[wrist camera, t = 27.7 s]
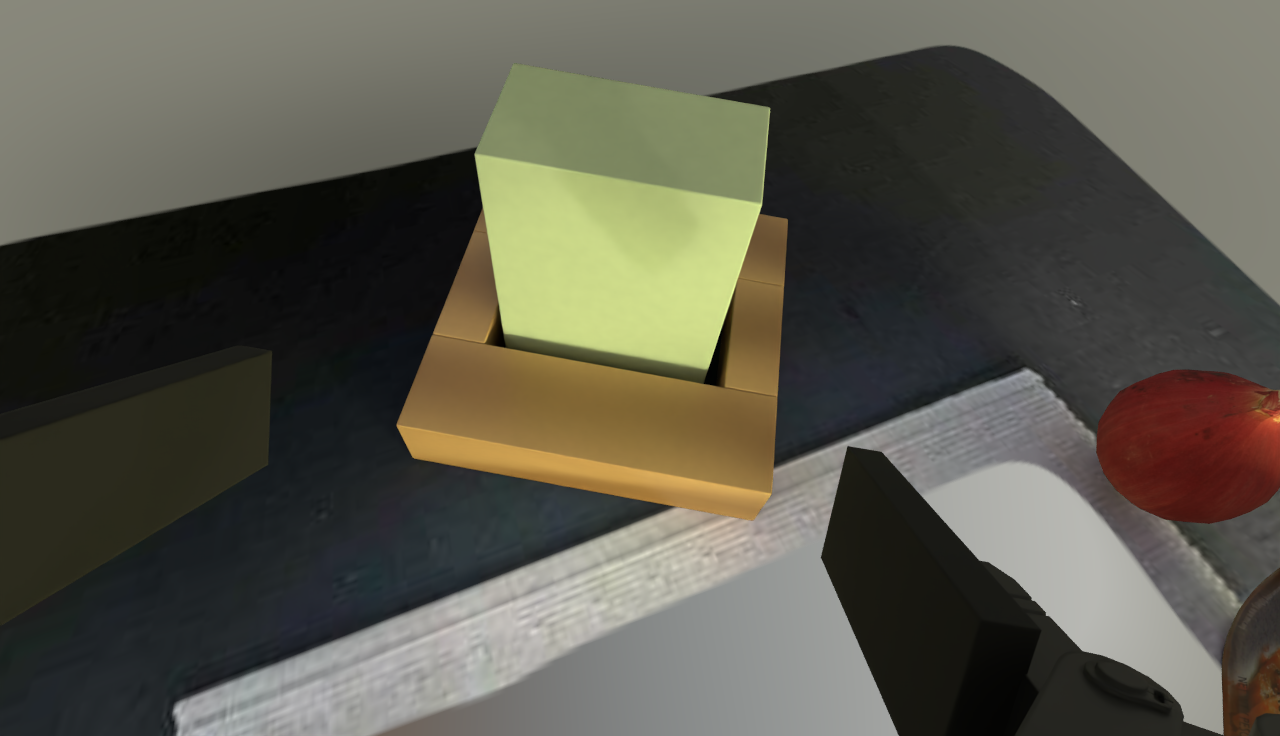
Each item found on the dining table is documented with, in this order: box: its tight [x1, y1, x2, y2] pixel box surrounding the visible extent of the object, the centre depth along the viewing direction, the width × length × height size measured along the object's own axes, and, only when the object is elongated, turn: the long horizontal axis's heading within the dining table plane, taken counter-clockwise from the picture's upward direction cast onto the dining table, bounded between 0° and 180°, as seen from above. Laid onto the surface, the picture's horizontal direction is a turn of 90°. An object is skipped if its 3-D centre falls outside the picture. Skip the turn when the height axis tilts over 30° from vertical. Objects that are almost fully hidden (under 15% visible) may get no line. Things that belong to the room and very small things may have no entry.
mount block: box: [396, 209, 788, 521], centre depth 29 cm, size 14×14×3 cm
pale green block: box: [475, 63, 770, 384], centre depth 26 cm, size 4×8×12 cm, turn 81°
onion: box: [1096, 370, 1280, 524], centre depth 26 cm, size 6×6×8 cm
